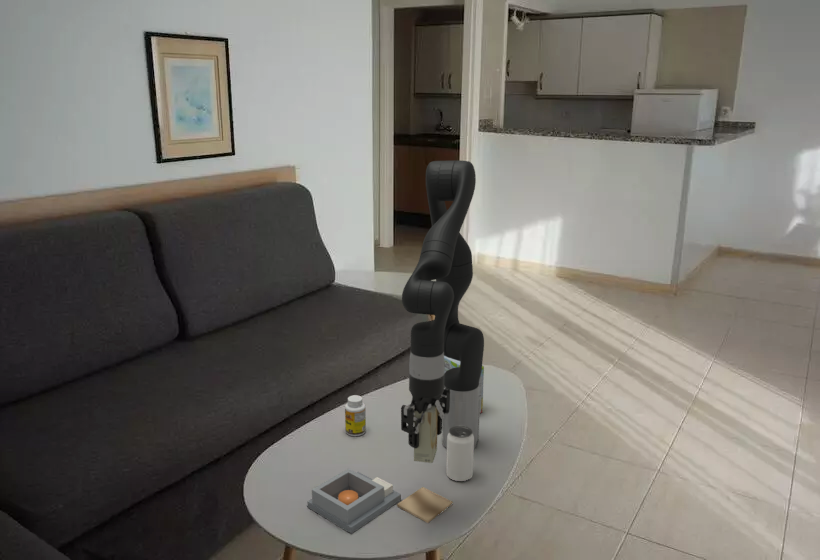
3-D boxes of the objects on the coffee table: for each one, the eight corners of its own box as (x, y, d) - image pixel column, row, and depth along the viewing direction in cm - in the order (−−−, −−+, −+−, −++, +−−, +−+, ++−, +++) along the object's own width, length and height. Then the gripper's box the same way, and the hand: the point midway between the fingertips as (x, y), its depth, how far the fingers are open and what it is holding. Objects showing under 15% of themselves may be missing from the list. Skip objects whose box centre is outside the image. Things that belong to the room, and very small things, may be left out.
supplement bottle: (342, 429, 184) (342, 395, 181) (361, 425, 186) (361, 392, 183) (349, 438, 179) (348, 404, 176) (368, 434, 181) (368, 400, 179)
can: (455, 485, 159) (456, 440, 155) (441, 471, 164) (442, 428, 161) (477, 478, 162) (479, 434, 158) (463, 465, 167) (465, 422, 164)
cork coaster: (422, 489, 157) (422, 486, 157) (453, 504, 152) (453, 502, 151) (397, 506, 151) (397, 504, 151) (427, 523, 145) (427, 520, 145)
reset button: (348, 498, 153) (348, 487, 152) (362, 505, 150) (362, 495, 150) (334, 507, 150) (334, 496, 149) (348, 515, 147) (348, 504, 146)
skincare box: (432, 464, 144) (433, 413, 141) (413, 461, 145) (413, 411, 142) (437, 448, 150) (438, 399, 147) (418, 446, 151) (419, 397, 148)
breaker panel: (358, 477, 162) (357, 458, 160) (401, 499, 153) (401, 480, 152) (307, 507, 150) (306, 487, 149) (351, 533, 142) (350, 513, 140)
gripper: (418, 386, 134) (417, 459, 139) (461, 365, 145) (458, 433, 149) (391, 376, 139) (391, 446, 144) (434, 356, 150) (433, 422, 154)
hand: (425, 439), depth 147 cm, fingers closed on skincare box, 7 cm apart
